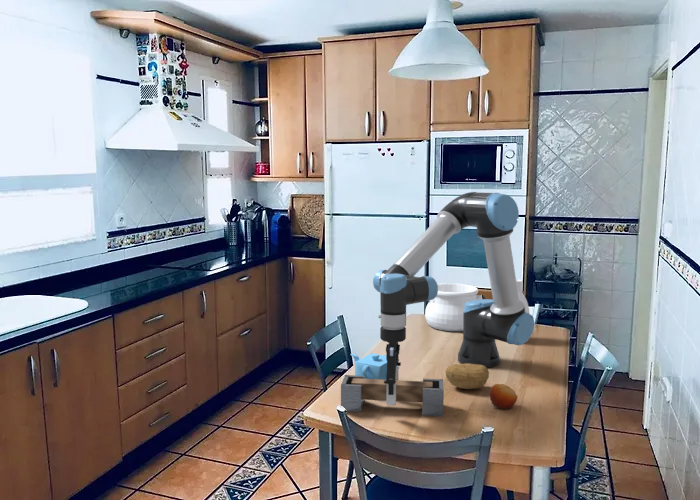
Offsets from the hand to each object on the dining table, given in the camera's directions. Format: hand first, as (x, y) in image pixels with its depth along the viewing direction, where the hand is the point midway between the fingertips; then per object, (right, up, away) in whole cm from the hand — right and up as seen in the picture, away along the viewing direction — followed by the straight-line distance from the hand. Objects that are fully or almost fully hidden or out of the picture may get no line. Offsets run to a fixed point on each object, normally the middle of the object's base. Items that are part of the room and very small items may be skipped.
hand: (392, 395), depth 179 cm
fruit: (+33, -4, +1) cm, 34 cm away
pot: (+34, +9, +92) cm, 98 cm away
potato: (+25, -2, +16) cm, 30 cm away
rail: (0, -1, 0) cm, 1 cm away
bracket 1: (-12, -4, +2) cm, 13 cm away
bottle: (+56, +6, +69) cm, 89 cm away
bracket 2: (+12, -4, -1) cm, 13 cm away
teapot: (-5, -2, +17) cm, 18 cm away
